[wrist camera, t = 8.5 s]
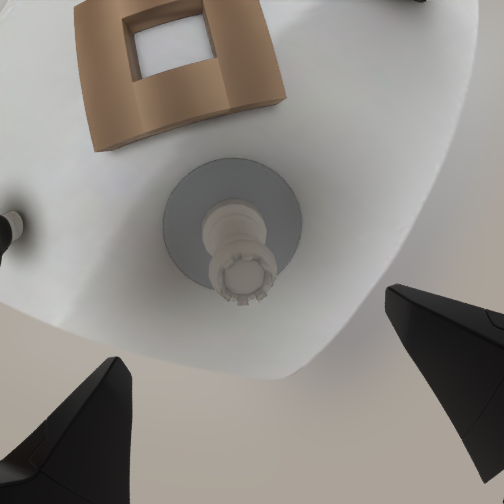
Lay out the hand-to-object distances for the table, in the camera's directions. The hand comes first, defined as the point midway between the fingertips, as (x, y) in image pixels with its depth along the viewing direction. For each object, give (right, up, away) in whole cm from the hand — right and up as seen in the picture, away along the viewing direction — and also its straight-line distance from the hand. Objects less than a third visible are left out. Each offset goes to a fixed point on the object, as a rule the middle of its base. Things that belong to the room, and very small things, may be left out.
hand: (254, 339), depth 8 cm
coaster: (-1, +4, +12) cm, 13 cm away
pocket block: (-6, +17, +7) cm, 19 cm away
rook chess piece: (-1, +4, +12) cm, 13 cm away
